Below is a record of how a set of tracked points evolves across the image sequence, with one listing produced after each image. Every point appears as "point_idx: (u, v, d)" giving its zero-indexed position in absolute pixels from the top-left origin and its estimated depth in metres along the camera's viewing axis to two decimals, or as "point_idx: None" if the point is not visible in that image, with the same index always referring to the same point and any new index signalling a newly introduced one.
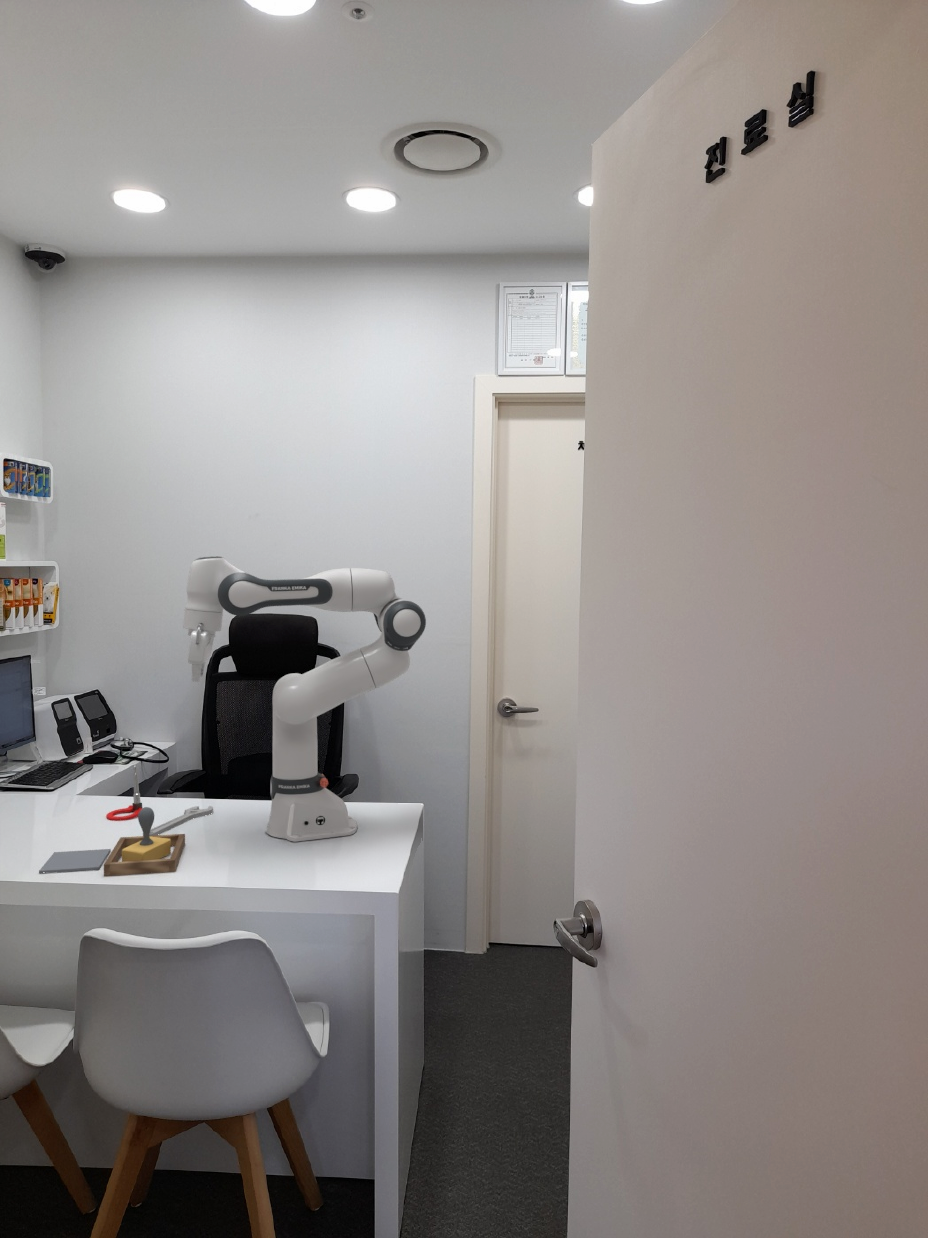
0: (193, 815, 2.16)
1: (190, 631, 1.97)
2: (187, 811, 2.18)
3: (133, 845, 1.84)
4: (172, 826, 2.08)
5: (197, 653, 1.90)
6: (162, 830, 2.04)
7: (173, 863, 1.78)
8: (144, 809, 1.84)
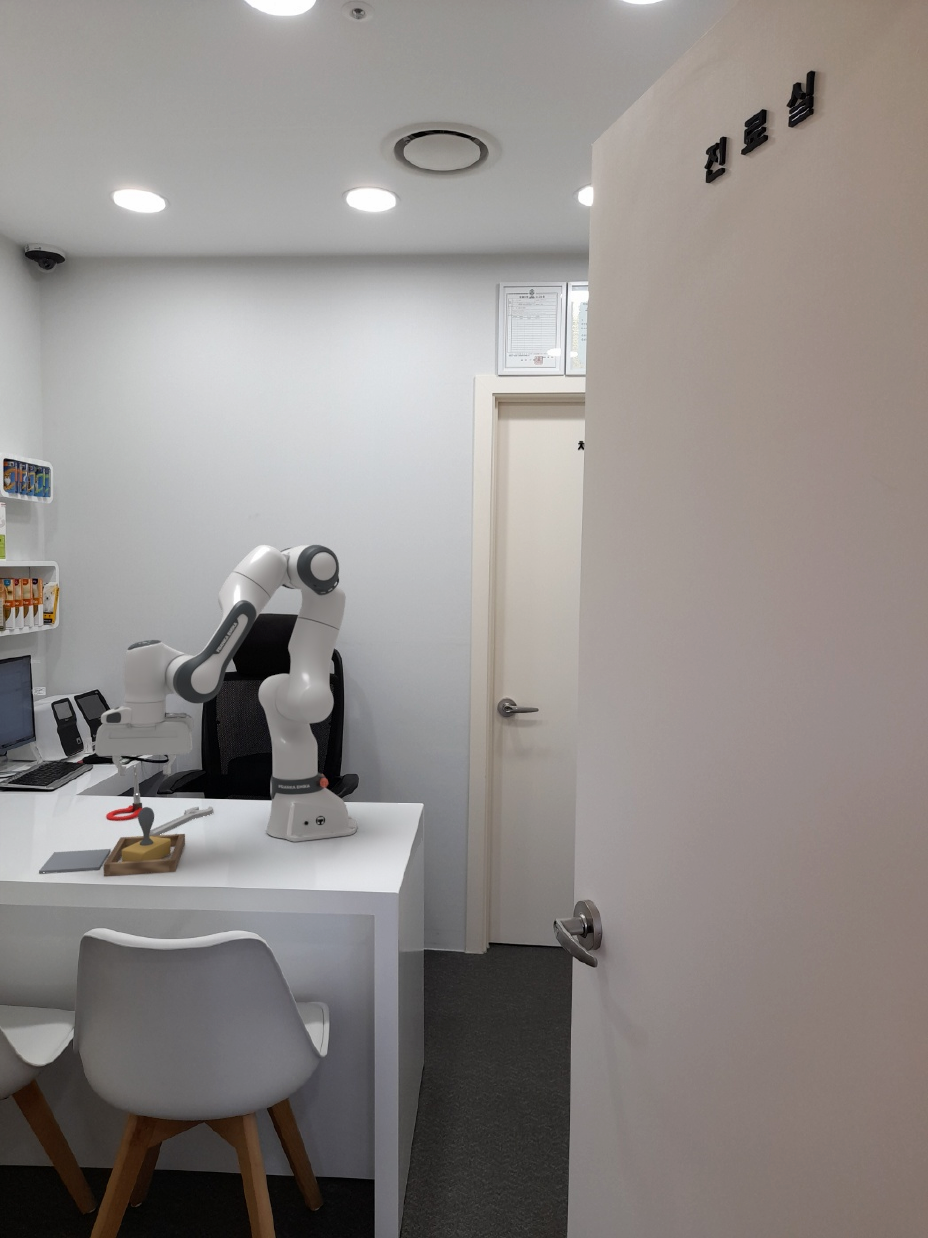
0: (193, 815, 2.15)
1: (151, 725, 1.81)
2: (187, 812, 2.18)
3: (133, 845, 1.84)
4: (172, 826, 2.07)
5: (191, 741, 1.86)
6: (162, 830, 2.03)
7: (173, 863, 1.78)
8: (144, 809, 1.84)
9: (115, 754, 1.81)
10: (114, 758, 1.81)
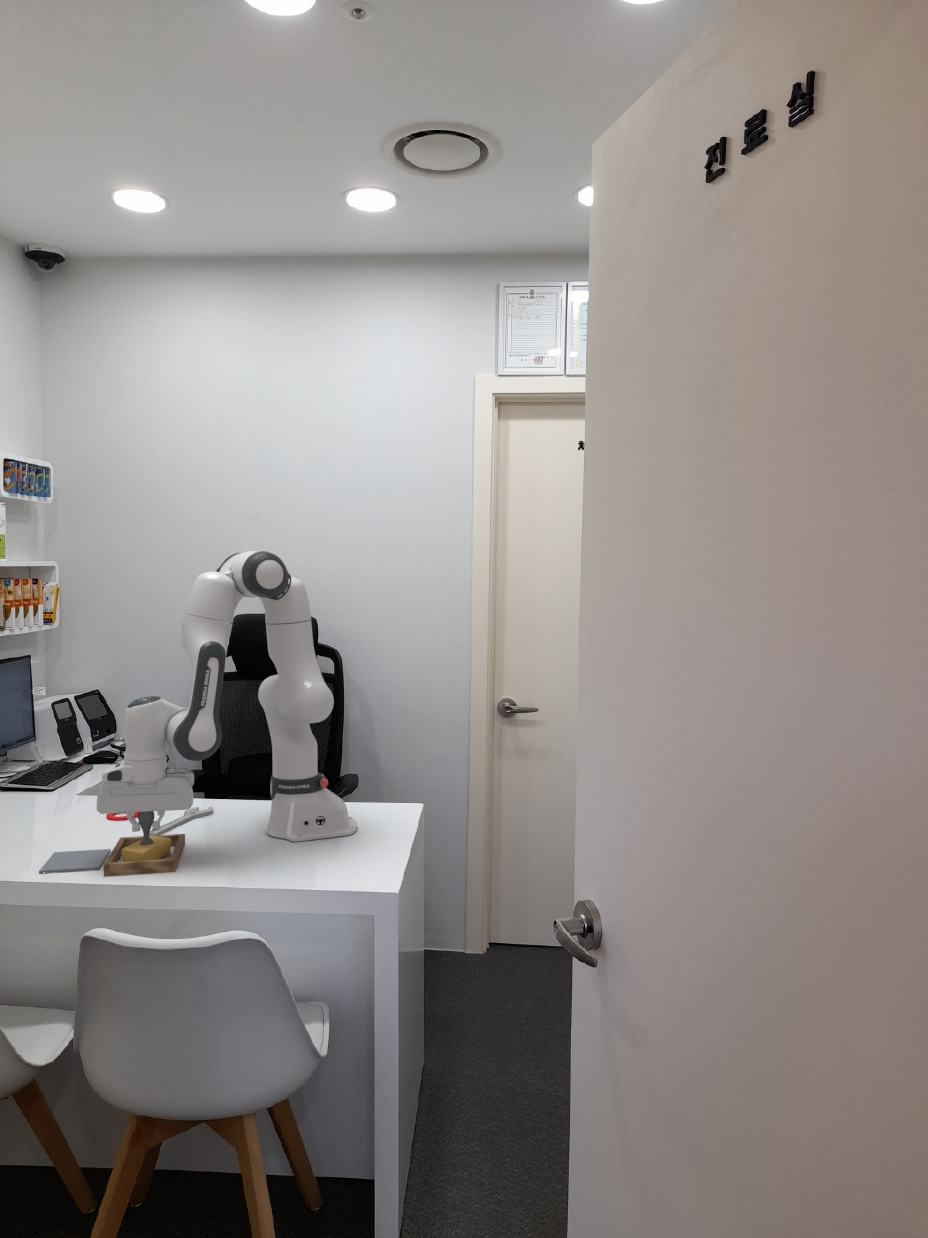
0: (193, 816, 2.15)
1: (152, 782, 1.82)
2: (187, 812, 2.17)
3: (133, 844, 1.84)
4: (173, 827, 2.07)
5: (192, 796, 1.87)
6: (163, 831, 2.03)
7: (173, 863, 1.78)
8: None
9: (117, 811, 1.82)
10: (128, 814, 1.83)
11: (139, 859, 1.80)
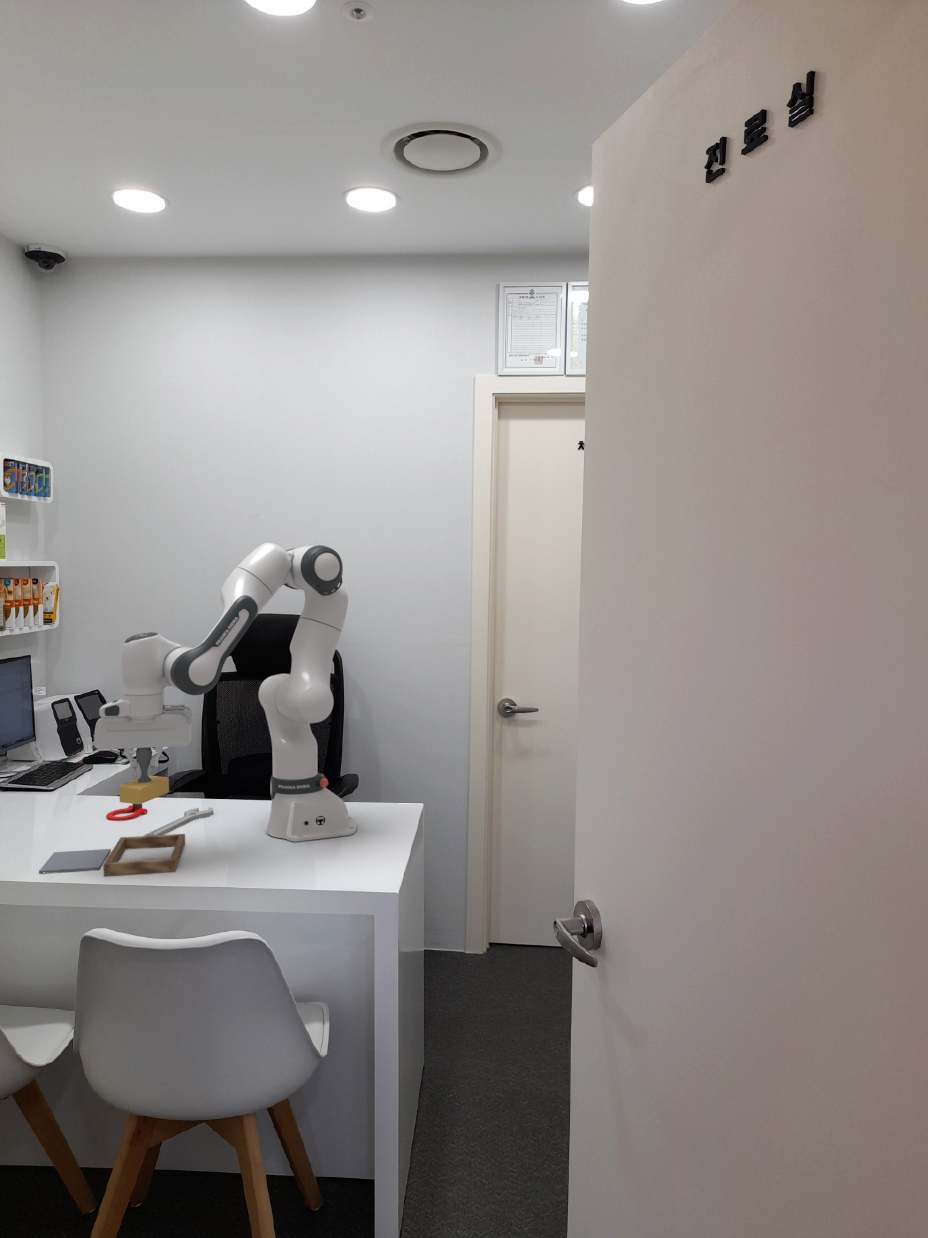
0: (193, 817, 2.14)
1: (150, 717, 1.81)
2: (187, 813, 2.17)
3: (130, 782, 1.83)
4: (173, 828, 2.06)
5: (190, 733, 1.86)
6: (163, 832, 2.02)
7: (173, 863, 1.78)
8: None
9: (114, 747, 1.81)
10: (126, 751, 1.82)
11: (137, 795, 1.79)
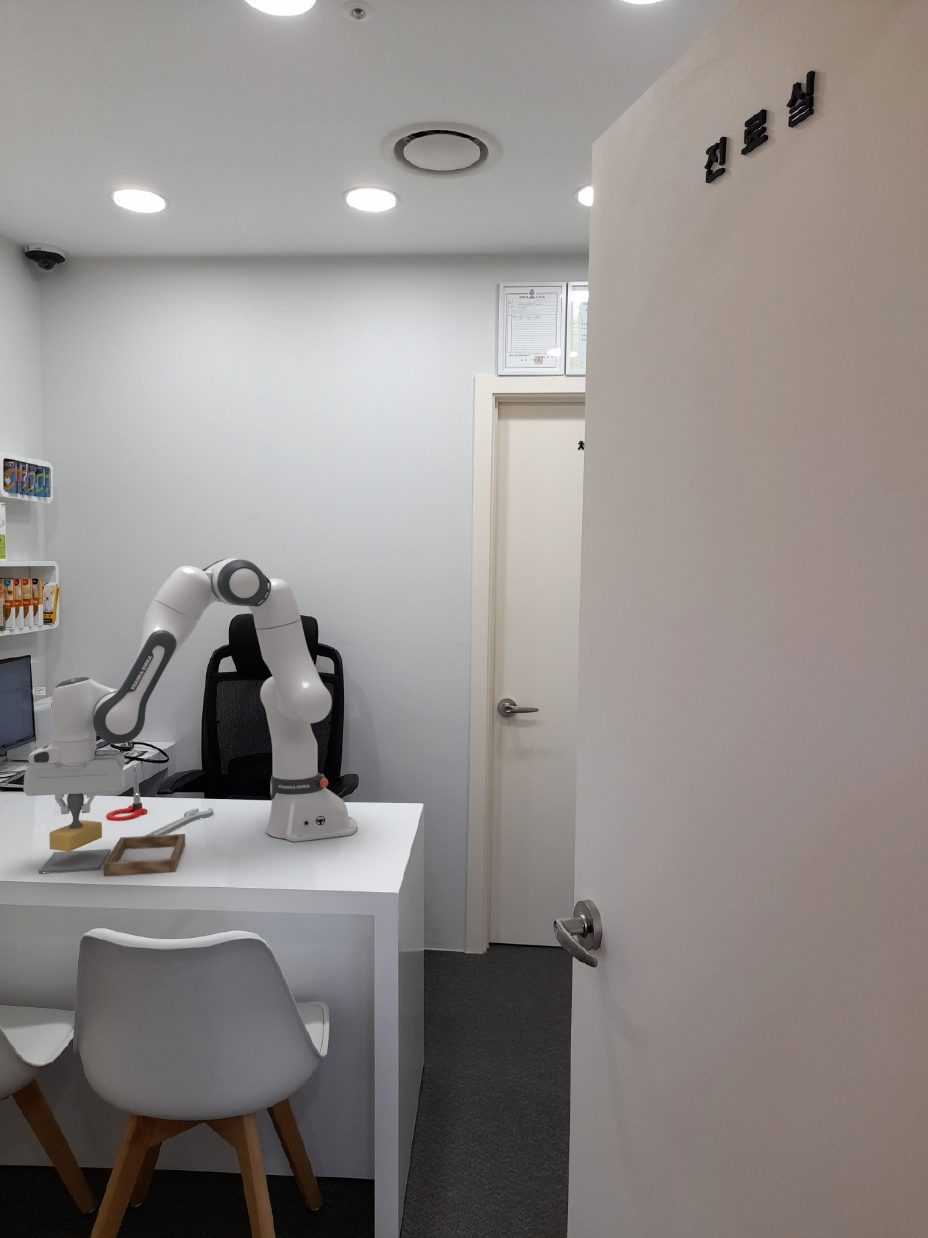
0: (194, 817, 2.14)
1: (80, 763, 1.80)
2: (187, 813, 2.16)
3: (61, 828, 1.81)
4: (173, 828, 2.06)
5: (123, 778, 1.84)
6: (163, 833, 2.02)
7: (173, 863, 1.78)
8: None
9: (44, 793, 1.79)
10: (57, 797, 1.80)
11: (66, 842, 1.77)
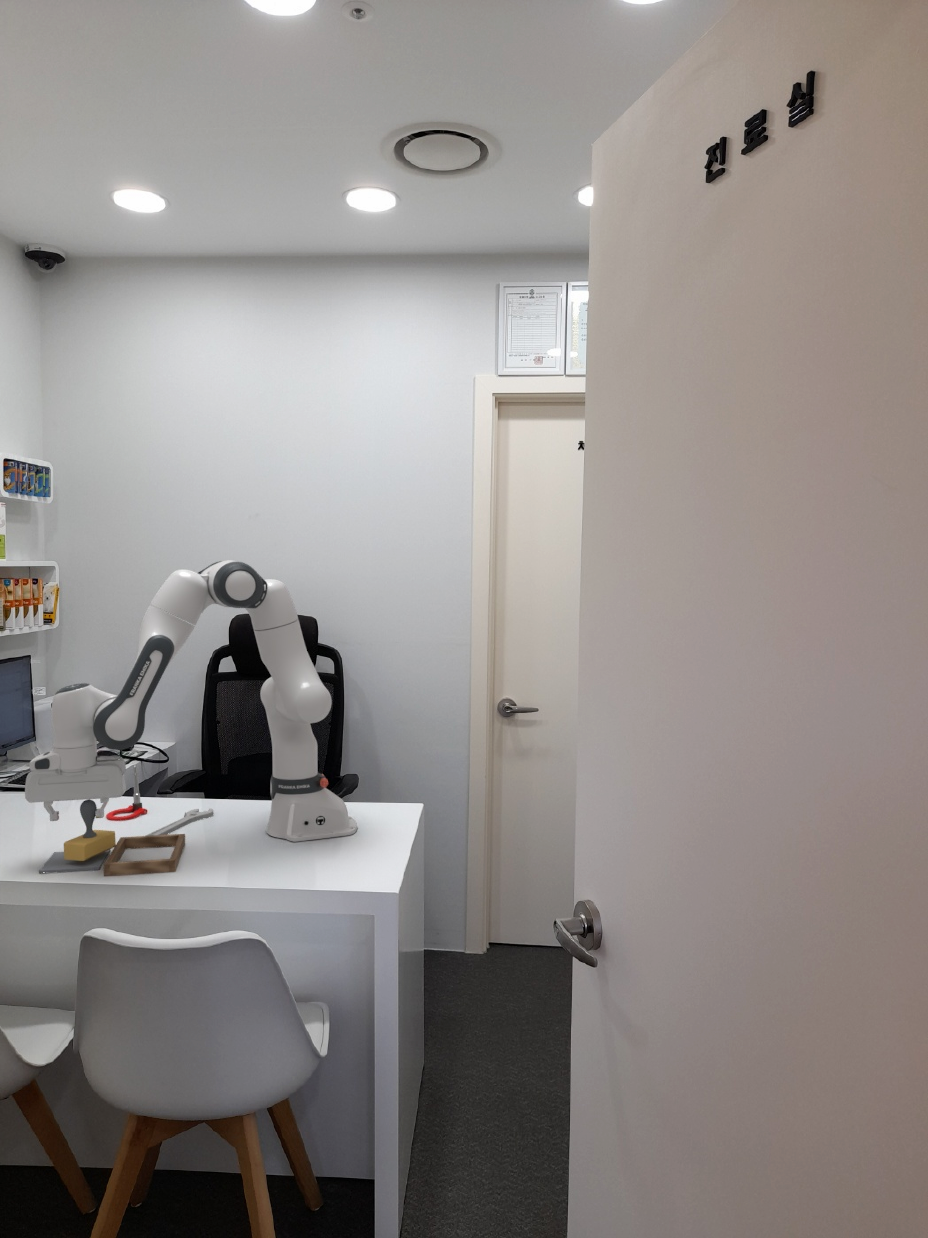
0: (194, 818, 2.13)
1: (81, 770, 1.80)
2: (187, 814, 2.16)
3: (75, 838, 1.82)
4: (173, 829, 2.05)
5: (124, 783, 1.84)
6: (163, 833, 2.01)
7: (173, 863, 1.78)
8: (86, 801, 1.82)
9: (46, 800, 1.79)
10: (45, 804, 1.80)
11: (81, 852, 1.78)
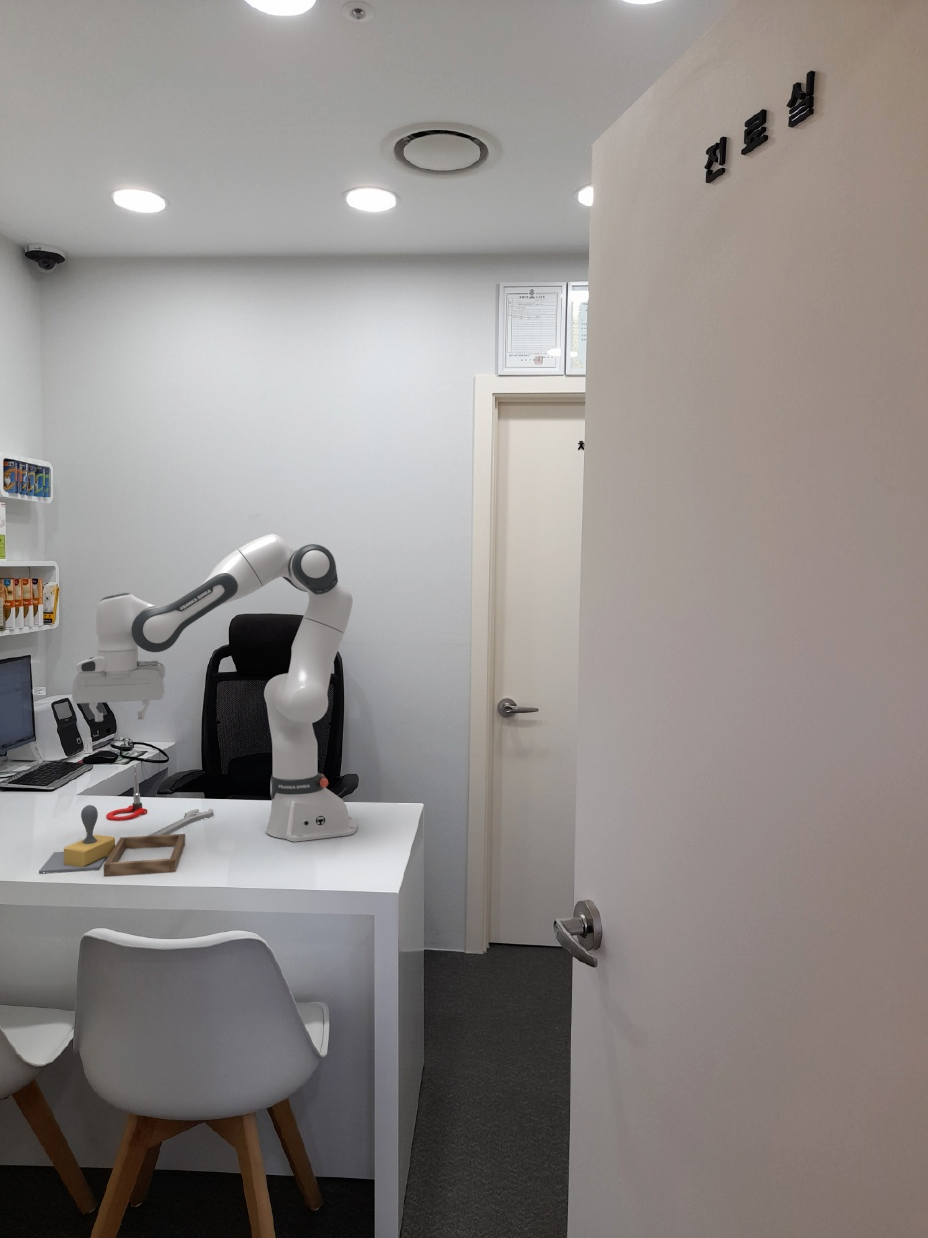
0: (194, 818, 2.13)
1: (125, 672, 1.92)
2: (187, 814, 2.15)
3: (75, 843, 1.82)
4: (174, 829, 2.05)
5: (163, 687, 1.97)
6: (164, 834, 2.01)
7: (173, 863, 1.78)
8: (87, 807, 1.82)
9: (91, 701, 1.92)
10: (91, 705, 1.92)
11: (81, 858, 1.78)
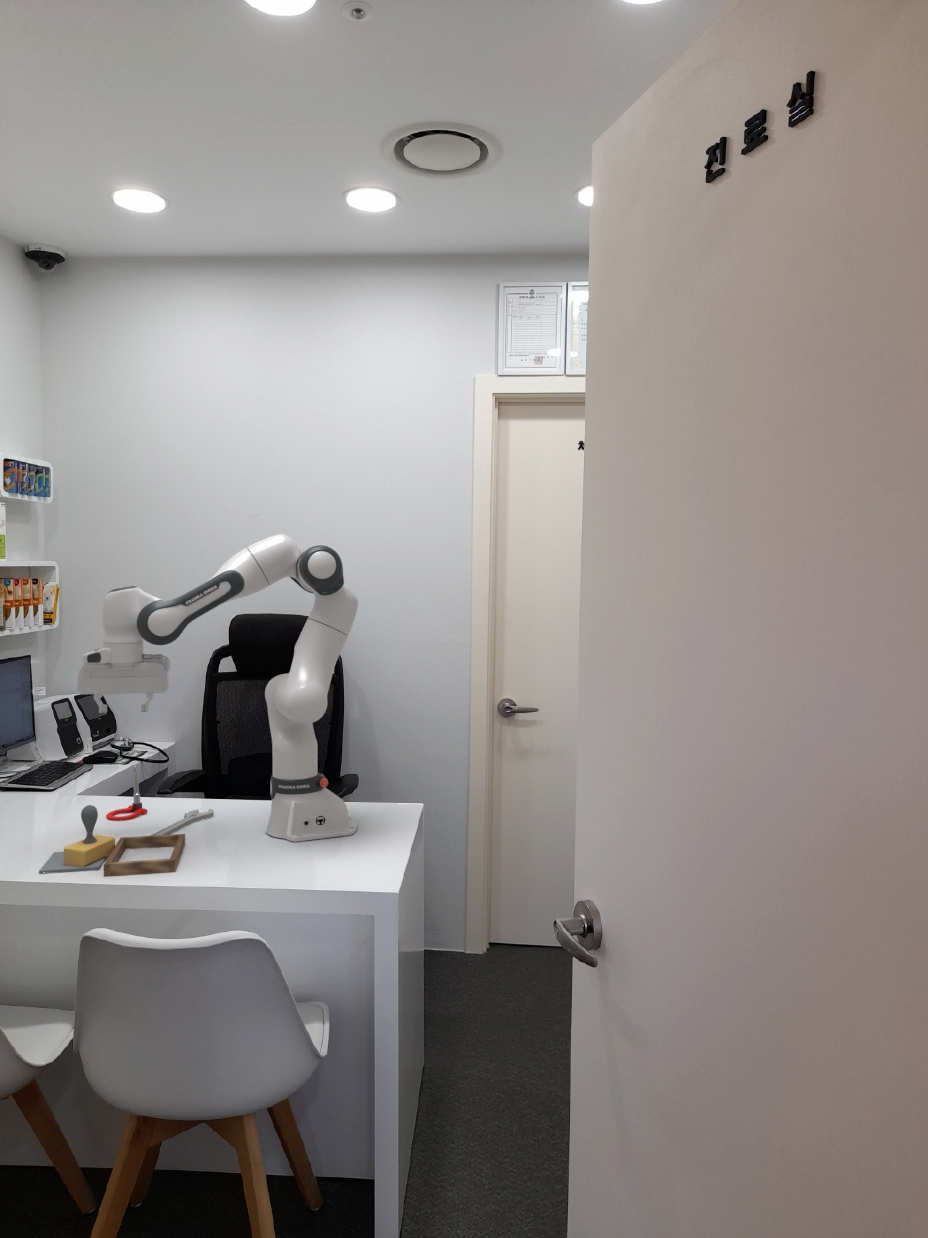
0: (194, 818, 2.13)
1: (129, 665, 1.94)
2: (187, 815, 2.15)
3: (75, 843, 1.82)
4: (174, 830, 2.05)
5: (168, 681, 1.98)
6: (165, 834, 2.01)
7: (173, 863, 1.78)
8: (87, 807, 1.82)
9: (96, 692, 1.93)
10: (95, 696, 1.94)
11: (81, 858, 1.78)
